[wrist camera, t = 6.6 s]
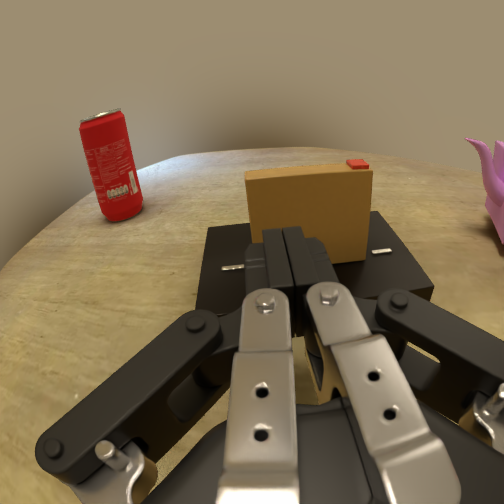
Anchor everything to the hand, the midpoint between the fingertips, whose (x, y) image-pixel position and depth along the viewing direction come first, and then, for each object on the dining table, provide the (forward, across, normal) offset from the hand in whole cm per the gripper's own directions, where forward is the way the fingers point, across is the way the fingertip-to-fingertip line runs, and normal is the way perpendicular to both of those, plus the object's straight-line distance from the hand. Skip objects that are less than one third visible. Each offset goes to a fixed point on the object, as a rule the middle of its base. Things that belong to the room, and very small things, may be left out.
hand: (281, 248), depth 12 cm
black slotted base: (+7, -2, +7) cm, 10 cm away
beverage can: (+22, +16, +7) cm, 28 cm away
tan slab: (+6, -2, +5) cm, 8 cm away
